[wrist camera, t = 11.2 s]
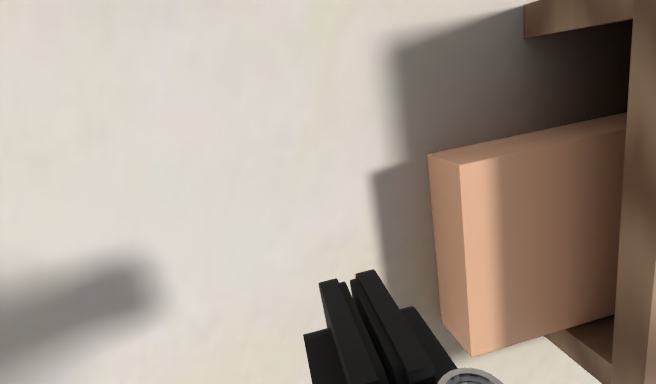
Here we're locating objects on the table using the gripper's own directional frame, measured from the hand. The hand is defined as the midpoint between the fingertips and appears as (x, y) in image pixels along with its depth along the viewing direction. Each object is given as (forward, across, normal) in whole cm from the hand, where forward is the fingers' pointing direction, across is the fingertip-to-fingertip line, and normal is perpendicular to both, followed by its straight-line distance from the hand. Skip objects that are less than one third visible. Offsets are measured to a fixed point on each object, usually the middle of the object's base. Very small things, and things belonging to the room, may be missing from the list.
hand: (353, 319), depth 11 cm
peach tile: (+9, -13, +3) cm, 16 cm away
